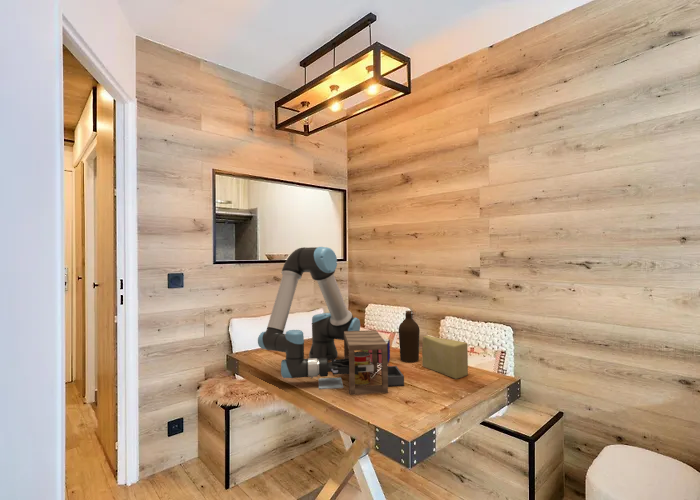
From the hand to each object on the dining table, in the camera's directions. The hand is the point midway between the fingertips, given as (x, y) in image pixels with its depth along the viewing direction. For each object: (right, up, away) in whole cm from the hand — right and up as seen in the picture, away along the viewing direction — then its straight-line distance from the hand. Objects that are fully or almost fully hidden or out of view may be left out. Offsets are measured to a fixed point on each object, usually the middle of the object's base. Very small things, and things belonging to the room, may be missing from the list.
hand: (371, 365), depth 159 cm
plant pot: (0, -8, +51) cm, 51 cm away
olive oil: (+21, -7, +31) cm, 38 cm away
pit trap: (+9, -7, +1) cm, 11 cm away
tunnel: (-3, -7, 0) cm, 8 cm away
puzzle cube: (+6, -8, +31) cm, 32 cm away
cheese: (+33, -7, +12) cm, 36 cm away
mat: (-18, -7, -2) cm, 19 cm away
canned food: (-5, -7, -1) cm, 9 cm away
